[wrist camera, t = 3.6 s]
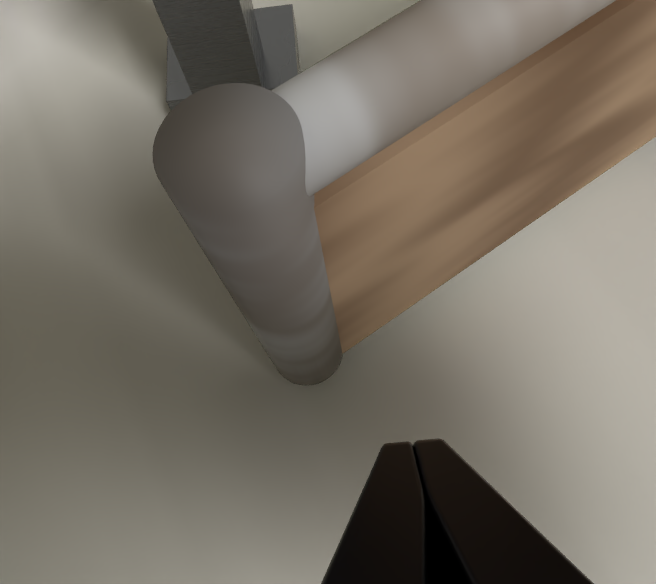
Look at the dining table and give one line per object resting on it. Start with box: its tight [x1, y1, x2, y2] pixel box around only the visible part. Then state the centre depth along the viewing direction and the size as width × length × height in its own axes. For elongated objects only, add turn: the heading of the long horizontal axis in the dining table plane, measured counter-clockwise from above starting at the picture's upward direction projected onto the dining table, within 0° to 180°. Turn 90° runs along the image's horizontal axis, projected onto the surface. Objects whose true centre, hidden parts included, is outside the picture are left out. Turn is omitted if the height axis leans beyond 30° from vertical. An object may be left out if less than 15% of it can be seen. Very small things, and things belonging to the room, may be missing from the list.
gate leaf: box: [153, 0, 656, 385], centre depth 12 cm, size 14×2×9 cm, turn 124°
